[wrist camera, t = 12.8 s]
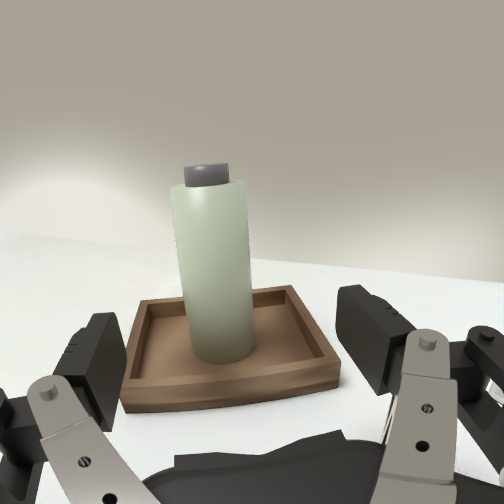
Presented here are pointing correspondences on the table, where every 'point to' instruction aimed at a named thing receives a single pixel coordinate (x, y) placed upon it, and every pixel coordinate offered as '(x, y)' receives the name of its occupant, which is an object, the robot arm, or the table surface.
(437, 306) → the table surface
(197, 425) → the table surface
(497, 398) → the small box
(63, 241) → the table surface
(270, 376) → the tray
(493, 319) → the table surface
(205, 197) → the bottle
